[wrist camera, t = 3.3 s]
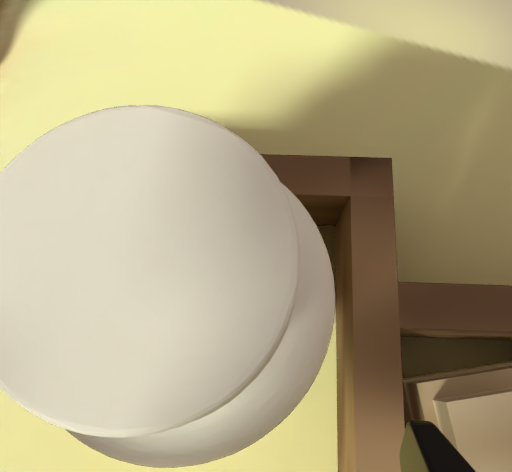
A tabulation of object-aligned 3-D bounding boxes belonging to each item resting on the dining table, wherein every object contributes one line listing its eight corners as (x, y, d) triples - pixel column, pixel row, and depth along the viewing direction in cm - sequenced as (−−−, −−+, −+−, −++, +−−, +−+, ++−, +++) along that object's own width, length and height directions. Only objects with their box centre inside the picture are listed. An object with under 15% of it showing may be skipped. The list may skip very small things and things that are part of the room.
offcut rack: (702, 583, 16) (820, 639, 13) (26, 553, 17) (-34, 600, 13) (628, 201, 20) (702, 167, 17) (81, 184, 20) (46, 148, 17)
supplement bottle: (210, 217, 20) (129, -30, 8) (334, 318, 19) (477, 218, 6) (98, 341, 19) (-222, 282, 6) (224, 458, 17) (137, 674, 5)
